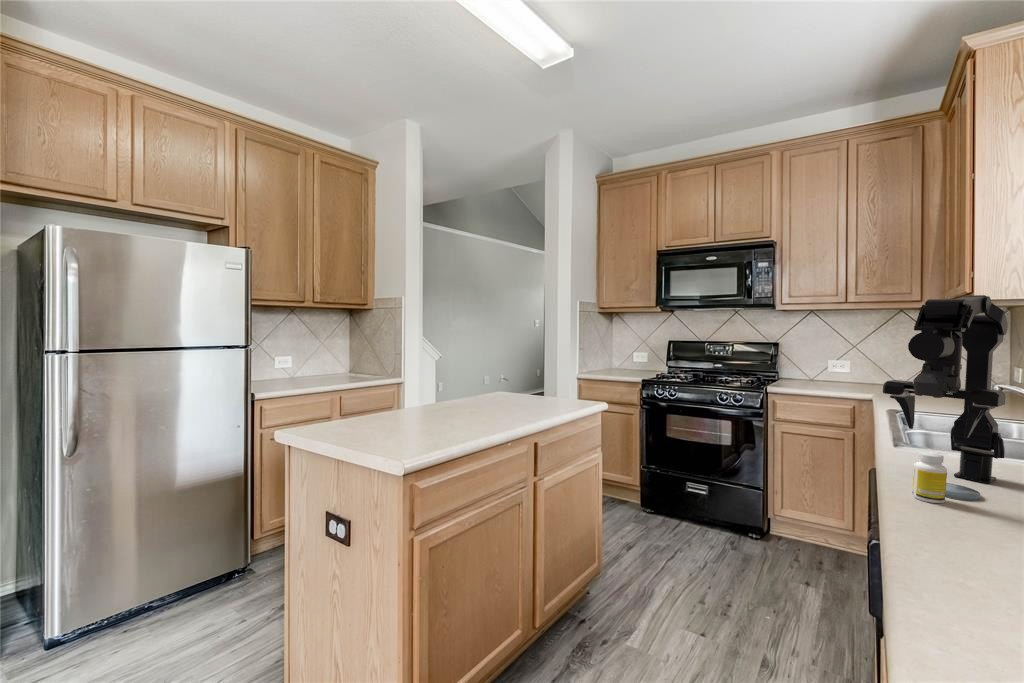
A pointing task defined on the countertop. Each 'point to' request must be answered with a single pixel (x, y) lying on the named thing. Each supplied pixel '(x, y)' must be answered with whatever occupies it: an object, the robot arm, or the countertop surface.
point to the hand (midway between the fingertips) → (937, 433)
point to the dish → (961, 492)
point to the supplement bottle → (929, 478)
